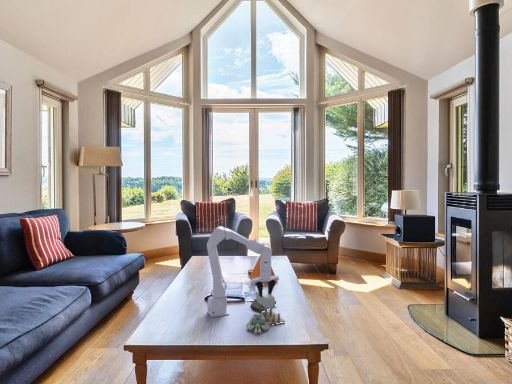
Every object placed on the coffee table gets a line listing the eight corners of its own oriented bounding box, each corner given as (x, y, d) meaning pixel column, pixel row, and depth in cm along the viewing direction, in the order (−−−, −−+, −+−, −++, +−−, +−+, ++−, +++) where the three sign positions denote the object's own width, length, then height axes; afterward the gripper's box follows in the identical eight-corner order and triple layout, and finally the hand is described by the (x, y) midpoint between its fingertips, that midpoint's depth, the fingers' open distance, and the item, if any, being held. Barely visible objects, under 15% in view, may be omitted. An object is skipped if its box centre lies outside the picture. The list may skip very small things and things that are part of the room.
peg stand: (272, 325, 155) (272, 317, 155) (260, 315, 167) (260, 307, 166) (284, 323, 158) (285, 314, 158) (272, 313, 170) (272, 305, 169)
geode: (276, 300, 189) (250, 300, 188) (276, 293, 189) (250, 293, 188) (279, 314, 170) (250, 314, 170) (279, 306, 170) (250, 306, 169)
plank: (266, 308, 162) (266, 298, 161) (256, 300, 172) (256, 290, 172) (274, 307, 164) (274, 297, 163) (263, 299, 174) (264, 289, 174)
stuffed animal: (245, 323, 144) (246, 308, 156) (245, 338, 146) (246, 321, 158) (270, 324, 144) (269, 308, 156) (269, 338, 146) (269, 322, 158)
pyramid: (248, 278, 229) (249, 250, 228) (270, 276, 234) (270, 248, 233) (255, 285, 214) (256, 255, 213) (278, 283, 219) (278, 253, 218)
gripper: (255, 272, 161) (255, 300, 161) (281, 269, 167) (281, 296, 167) (250, 269, 167) (249, 295, 168) (275, 266, 173) (274, 291, 174)
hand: (265, 295), depth 168 cm, fingers closed on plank, 4 cm apart
